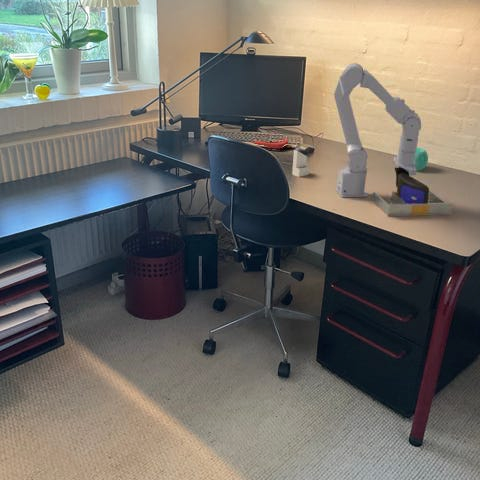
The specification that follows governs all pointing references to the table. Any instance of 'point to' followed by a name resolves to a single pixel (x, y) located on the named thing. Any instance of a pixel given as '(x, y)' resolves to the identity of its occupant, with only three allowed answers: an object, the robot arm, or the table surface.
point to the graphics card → (272, 144)
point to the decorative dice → (420, 158)
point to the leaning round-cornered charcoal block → (412, 189)
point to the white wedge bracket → (300, 164)
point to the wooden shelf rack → (413, 206)
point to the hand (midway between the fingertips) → (400, 188)
